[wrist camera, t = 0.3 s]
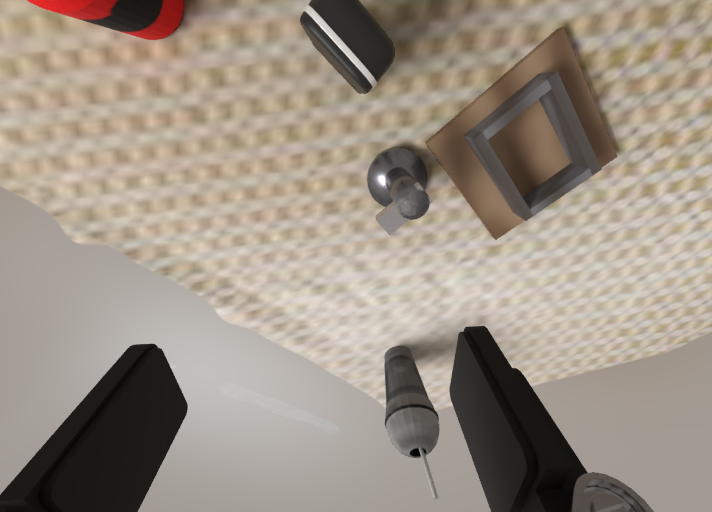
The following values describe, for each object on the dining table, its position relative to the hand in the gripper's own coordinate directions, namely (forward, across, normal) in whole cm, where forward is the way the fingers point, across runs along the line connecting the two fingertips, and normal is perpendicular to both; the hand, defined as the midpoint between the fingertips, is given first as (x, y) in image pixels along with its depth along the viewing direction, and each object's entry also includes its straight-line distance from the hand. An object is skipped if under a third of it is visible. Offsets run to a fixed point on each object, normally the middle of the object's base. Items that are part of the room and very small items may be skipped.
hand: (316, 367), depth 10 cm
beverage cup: (+29, -8, +31) cm, 43 cm away
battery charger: (+29, -2, -12) cm, 32 cm away
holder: (+29, -22, -2) cm, 36 cm away
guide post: (+29, -7, +1) cm, 30 cm away
